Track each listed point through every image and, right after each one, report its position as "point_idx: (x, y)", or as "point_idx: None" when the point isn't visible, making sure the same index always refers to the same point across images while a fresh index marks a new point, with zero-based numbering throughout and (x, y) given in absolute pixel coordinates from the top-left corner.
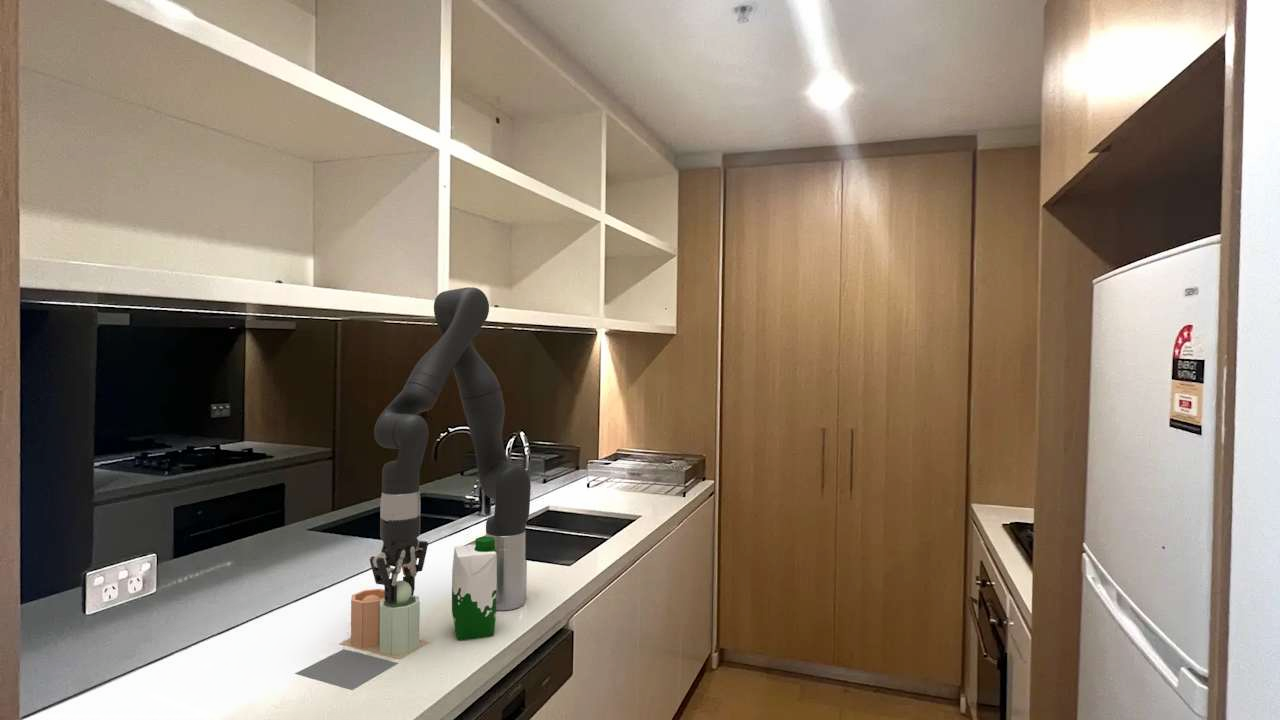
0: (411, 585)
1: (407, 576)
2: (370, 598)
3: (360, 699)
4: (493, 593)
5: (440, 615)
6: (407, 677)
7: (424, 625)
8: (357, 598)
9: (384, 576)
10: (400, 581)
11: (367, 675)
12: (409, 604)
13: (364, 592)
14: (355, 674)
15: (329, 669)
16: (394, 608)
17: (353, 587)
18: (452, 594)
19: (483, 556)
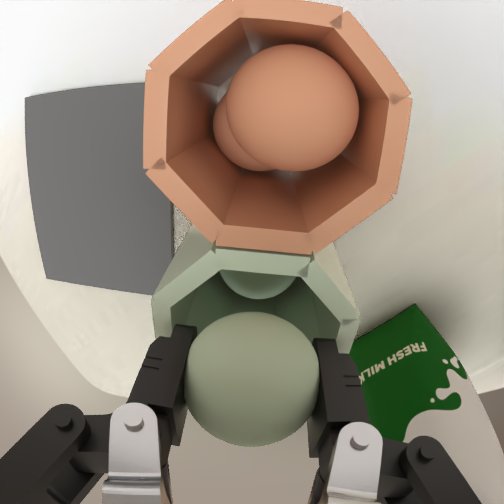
0: (309, 422)
1: (324, 447)
2: (266, 126)
3: (50, 300)
4: None
5: (498, 210)
6: (148, 335)
7: (436, 204)
8: (260, 25)
9: (56, 488)
10: (245, 439)
11: (93, 269)
12: (329, 316)
13: (328, 28)
14: (81, 240)
15: (66, 157)
16: None
17: None
18: (396, 423)
19: None
